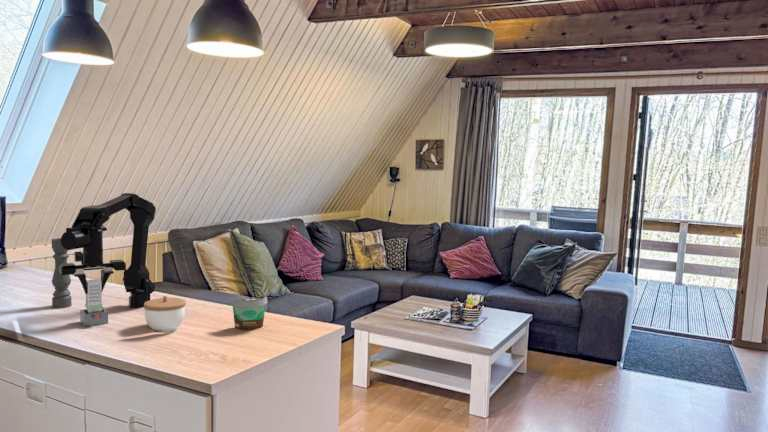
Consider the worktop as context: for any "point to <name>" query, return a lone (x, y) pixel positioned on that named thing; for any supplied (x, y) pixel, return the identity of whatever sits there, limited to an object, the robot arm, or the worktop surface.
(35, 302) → the worktop surface
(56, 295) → the candle holder
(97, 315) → the stand base
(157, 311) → the lidded bowl
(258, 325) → the food container
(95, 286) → the grey tall block
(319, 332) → the worktop surface
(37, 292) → the worktop surface
